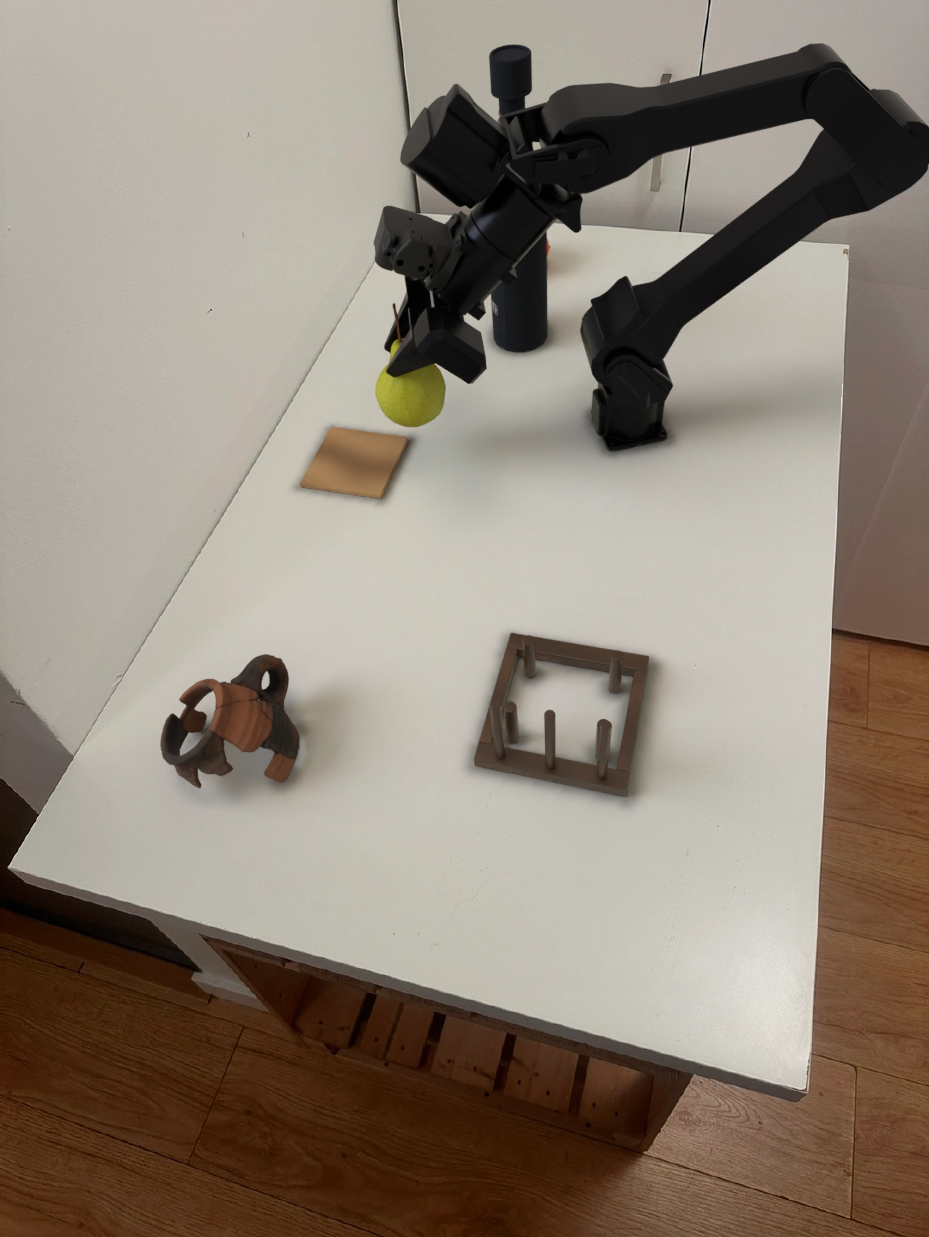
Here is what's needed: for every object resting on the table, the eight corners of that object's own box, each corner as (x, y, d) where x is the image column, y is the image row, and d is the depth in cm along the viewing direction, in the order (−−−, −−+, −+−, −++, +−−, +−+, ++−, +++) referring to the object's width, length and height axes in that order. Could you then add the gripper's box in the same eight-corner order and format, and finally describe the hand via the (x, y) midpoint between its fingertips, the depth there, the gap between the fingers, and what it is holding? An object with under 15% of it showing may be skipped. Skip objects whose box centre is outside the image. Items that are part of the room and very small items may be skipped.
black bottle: (557, 328, 103) (558, 43, 79) (530, 358, 100) (522, 72, 76) (511, 314, 105) (498, 34, 81) (483, 343, 102) (461, 61, 78)
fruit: (448, 440, 84) (428, 328, 76) (379, 445, 85) (352, 336, 77) (452, 399, 89) (434, 289, 80) (387, 404, 90) (362, 297, 81)
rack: (511, 640, 76) (506, 574, 69) (648, 663, 73) (658, 598, 66) (474, 766, 69) (465, 707, 62) (625, 797, 66) (633, 740, 59)
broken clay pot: (275, 821, 68) (193, 785, 63) (213, 795, 75) (133, 760, 69) (339, 684, 72) (266, 638, 66) (275, 670, 78) (203, 628, 73)
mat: (331, 430, 95) (330, 426, 95) (408, 440, 93) (408, 436, 93) (300, 487, 90) (299, 483, 90) (381, 499, 88) (380, 495, 88)
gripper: (413, 125, 74) (315, 262, 83) (430, 239, 63) (315, 383, 72) (508, 202, 80) (408, 321, 89) (539, 318, 69) (421, 442, 78)
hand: (388, 362), depth 82 cm, fingers closed on fruit, 3 cm apart
